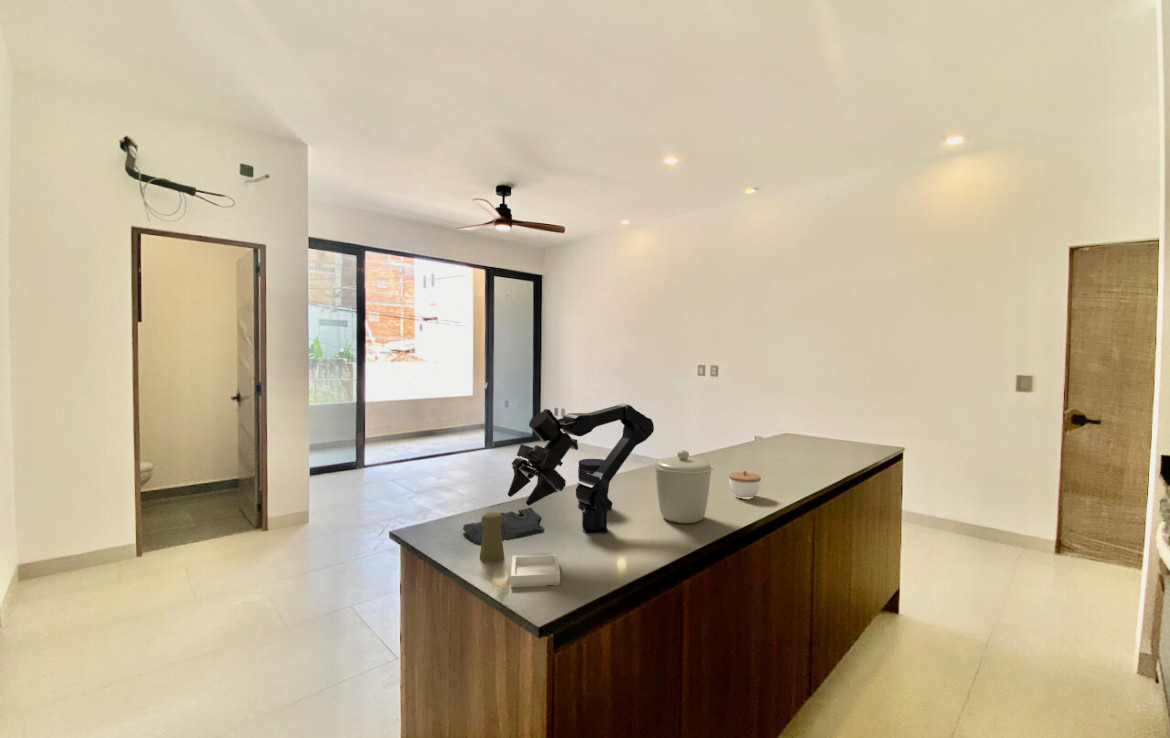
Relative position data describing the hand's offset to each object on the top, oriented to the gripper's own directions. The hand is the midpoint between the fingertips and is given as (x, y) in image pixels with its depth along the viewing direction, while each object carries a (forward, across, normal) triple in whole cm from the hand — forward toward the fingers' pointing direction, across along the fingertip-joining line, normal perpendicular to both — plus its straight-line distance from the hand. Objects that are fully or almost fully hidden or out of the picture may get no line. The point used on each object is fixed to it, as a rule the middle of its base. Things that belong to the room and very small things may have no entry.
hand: (517, 500), depth 126 cm
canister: (-28, +8, +47) cm, 55 cm away
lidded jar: (-53, +6, +72) cm, 90 cm away
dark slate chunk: (+7, -15, +13) cm, 21 cm away
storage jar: (-18, -17, +36) cm, 44 cm away
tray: (+12, +15, +6) cm, 20 cm away
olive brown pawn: (+14, 0, +4) cm, 15 cm away
